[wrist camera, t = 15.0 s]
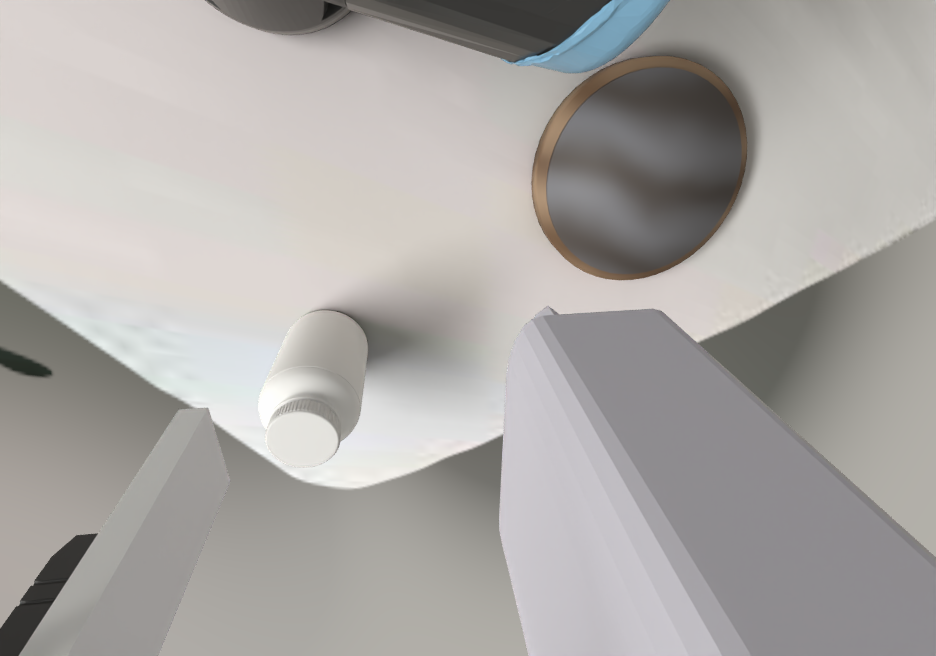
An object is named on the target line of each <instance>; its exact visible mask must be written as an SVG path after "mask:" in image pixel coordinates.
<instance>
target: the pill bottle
mask: <svg viewBox="0 0 936 656" xmlns="http://www.w3.org/2000/svg"><path fill="white" fill-rule="evenodd" d="M367 356H368V344H367V339H366V336H365V334H364V332H363V330H362V328H361V327H360V326H359V325H358V324H357V323H356V322H355V321H354V320H353V319H352V318H350V317H348V316H347V315H345V314H342V313H339V312H336V311H330V310H320V311H314V312H311V313H308V314H306V315H304V316H302V317H301V318H299V319H298V320H297V321H296V322H295V323H294V324H293V325H292V327H291V328H290V329H289V331H288V333H287V335H286V337H285V339H284V342H283V344H282V346H281V348H280V350H279V353H278V355H277V357H276V359H275V361H274V364H273V366H272V368H271V370H270V372H269V374H268V377H267V379H266V381H265V383H264V385H263V388H262V390H261V393H260V396H259V401H258V408H259V415H260V418H261V421H262V423H263V425H264V427H265V429H266V432H265V441H266V442H265V443H266V446H267V448H268V450H269V451H270V453H271V454H272V455H273V456H274V457H275V458H276V459H277V460H279V461H280V462H282V463H284V464H287V465H289V466H293V467H300V468H307V467H314V466H317V465H320V464H322V463H324V462H326V461H328V460H329V459H330V458H331V457H333V455H334V454H335V453H336V452H337V450H338V448H339V445H340V442H341V441H342V440H344V439H345V438H346V437H347V436H348V435H349V434H350V433H351V432H352V430H353V429H354V427H355V426H356V424H357V422H358V420H359V416H360V412H361V404H362V396H363V388H364V380H365V372H366V364H367Z"/></svg>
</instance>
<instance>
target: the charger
mask: <svg viewBox="0 0 936 656" xmlns="http://www.w3.org/2000/svg"><path fill="white" fill-rule="evenodd" d="M499 528H500V535H501V540H502V545H503V549H504V553H505V557H506V561H507V566H508V570H509V574H510V578H511V582H512V587H513V591H514V595H515V599H516V603H517V608H518V612H519V616H520V620H521V624H522V628H523V633H524V637H525V641H526V645H527V649H528V654H529V656H936V557H935V556H934V555H933V554H931V553H930V552H929V551H928V550H927V549H926V548H925V547H924V546H923V545H921V544H920V543H919V542H918V541H917V540H916V539H915V538H914V537H913V536H911V535H910V534H909V533H908V532H907V531H906V530H905V529H904V528H902V526H900V525H899V524H898V523H897V522H896V521H895V520H894V519H892V517H890V516H889V515H888V514H887V513H886V512H885V511H884V510H883V509H882V508H880V507H879V506H878V505H877V504H876V503H875V502H874V501H873V500H871V499H870V498H869V497H868V496H867V495H866V494H865V493H864V492H862V491H861V490H860V489H859V488H858V487H857V486H856V485H855V484H854V483H852V482H851V481H850V480H849V479H848V478H847V477H846V476H845V475H844V474H843V473H841V472H840V471H839V470H838V469H837V468H836V467H835V466H834V465H833V464H831V463H830V462H829V461H828V460H827V459H826V458H825V457H824V456H823V455H821V454H820V453H819V452H818V451H817V450H816V449H815V448H814V447H812V446H811V445H810V444H809V443H808V442H807V441H806V440H805V439H803V438H802V437H801V436H800V435H799V434H798V433H797V432H796V431H795V430H793V429H792V428H791V427H790V426H789V425H788V424H787V423H786V422H785V421H784V420H782V419H781V418H780V417H779V416H778V415H777V414H776V413H775V412H774V411H772V410H771V409H770V408H769V407H768V406H767V405H766V404H765V403H764V402H762V401H761V400H760V399H759V398H758V397H757V396H756V395H754V394H753V393H752V392H751V391H750V390H749V389H748V388H747V387H746V386H745V385H743V384H742V383H741V382H740V381H739V380H738V379H737V378H736V377H735V376H733V375H732V374H731V373H730V372H729V371H728V370H727V369H726V368H725V367H723V366H722V365H721V364H720V363H719V362H718V361H716V360H715V358H713V357H712V356H711V355H710V354H709V353H708V352H707V351H705V349H703V348H702V347H701V346H700V345H699V344H698V343H697V342H696V341H694V340H693V339H692V338H691V337H690V336H689V335H688V334H687V333H686V332H684V331H683V330H682V329H681V328H680V327H679V326H678V325H677V324H676V323H674V322H673V321H672V320H671V319H670V318H669V317H668V316H667V315H666V314H664V313H663V312H662V311H659V310H655V309H642V310H626V311H609V312H593V313H577V314H561V315H559V314H558V313H557V312H555V311H554V310H553V309H551V308H550V307H549V306H547V307H545V308H544V309H543V310H542V311H540V312H539V313H538V314H536V315H535V317H534V319H532V320H531V321H529V322H528V323H527V324H525V325H524V327H523V328H522V329H521V331H520V333H519V335H518V336H517V338H516V340H515V341H514V344H513V347H512V350H511V353H510V356H509V360H508V367H507V374H506V394H505V414H504V434H503V454H502V475H501V495H500V515H499Z"/></svg>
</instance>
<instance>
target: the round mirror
mask: <svg viewBox="0 0 936 656" xmlns="http://www.w3.org/2000/svg"><path fill="white" fill-rule="evenodd" d="M746 158H747V137H746V128H745V124H744V120H743V116H742V113H741V110H740V108H739V105H738V103H737V101H736V99H735V97H734V96H733V94H732V92H731V91H730V89H729V88H728V87H727V86H726V85H725V83H724V82H723V81H722V80H721V79H720V78H719V77H718V76H716V75H715V74H714V73H713V72H712V71H710V70H709V69H707V68H705V67H703V66H702V65H700V64H698V63H695V62H692V61H690V60H687V59H683V58H678V57H672V56H650V57H641V58H633V59H628V60H625V61H621V62H618V63H615V64H613V65H611V66H608V67H606V68H604V69H602V70H600V71H598V72H597V73H595V74H593V75H592V76H590V77H589V78H587V79H586V80H585V81H584V82H582V83H581V84H580V85H578V86H577V87H576V88H575V89H574V90H573V91H572V92H571V93H570V94H569V95H568V96H567V97H566V98H565V99H564V101H563V102H562V103H561V104H560V106H559V107H558V108H557V110H556V111H555V112H554V114H553V116H552V117H551V119H550V121H549V122H548V124H547V126H546V128H545V130H544V132H543V134H542V137H541V139H540V141H539V145H538V148H537V151H536V154H535V159H534V164H533V170H532V198H533V204H534V209H535V212H536V215H537V218H538V222H539V224H540V226H541V228H542V230H543V232H544V234H545V235H546V237H547V238H548V240H549V241H550V242H551V244H552V245H553V246H554V247H555V248H556V249H557V250H558V251H559V253H560V254H561V255H562V256H563V257H564V258H565V259H566V260H568V261H569V262H570V263H571V264H573V265H574V266H575V267H577V268H579V269H580V270H582V271H584V272H586V273H589V274H591V275H594V276H597V277H601V278H605V279H612V280H633V279H640V278H645V277H649V276H652V275H656V274H658V273H661V272H663V271H666V270H668V269H670V268H672V267H674V266H676V265H677V264H679V263H681V262H682V261H684V260H685V259H687V258H688V257H690V256H691V255H692V254H694V253H695V252H696V251H697V250H698V249H700V248H701V247H702V246H703V245H704V244H705V243H706V242H707V241H708V240H709V239H710V238H711V237H712V236H713V234H714V233H715V232H716V231H717V229H718V228H719V227H720V225H721V224H722V223H723V221H724V219H725V218H726V216H727V215H728V213H729V211H730V209H731V207H732V206H733V204H734V202H735V200H736V197H737V194H738V192H739V189H740V187H741V183H742V179H743V176H744V172H745V165H746Z"/></svg>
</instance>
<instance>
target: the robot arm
mask: <svg viewBox="0 0 936 656" xmlns="http://www.w3.org/2000/svg"><path fill="white" fill-rule="evenodd" d="M205 1H206V2H208V3H209V4H210V5H211V6H213V7H214V8H215V9H217V10H218V11H220V12H221V13H223V14H225V15H226V16H228V17H230V18H232V19H233V20H235V21H238V22H240V23H242V24H244V25H247V26H249V27H252V28H255V29H258V30H262V31H265V32H269V33H274V34H281V35H300V34H307V33H312V32H315V31H319V30H321V29H324V28H326V27H328V26H330V25H332V24H334V23H336V22H337V21H339V20H340V19H342V18H343V17H344V16H346V15H347V14H348V13H349V12H350V11H355V12H358V13H361V14H364V15H367V16H370V17H373V18H376V19H380V20H383V21H386V22H389V23H392V24H395V25H398V26H402V27H405V28H408V29H411V30H414V31H417V32H420V33H423V34H427V35H430V36H433V37H436V38H439V39H442V40H445V41H448V42H452V43H455V44H458V45H461V46H464V47H467V48H470V49H474V50H477V51H480V52H483V53H486V54H489V55H492V56H495V57H499V58H501V59H502V60H503V61H505V62H507V63H509V64H516V65H518V66H530V65H533V66H538V67H542V68H546V69H551V70H555V71H559V72H563V73H582V72H586V71H590V70H593V69H595V68H598V67H600V66H602V65H604V64H606V63H607V62H609V61H611V60H612V59H614V58H615V57H616V56H618V55H619V54H620V53H622V52H623V51H624V50H625V49H627V48H628V47H629V46H630V45H631V44H632V43H633V42H634V41H635V40H636V39H637V38H638V37H639V36H640V35H641V34H642V33H643V32H644V31H645V30H646V29H647V28H648V27H649V26H650V24H651V23H652V22H653V21H654V20H655V19H656V17H657V16H658V15H659V14H660V13H661V11H662V10H663V9H664V7H665V6H666V5H667V3H668V2H669V1H670V0H205ZM229 483H230V478H229V475H228V472H227V469H226V465H225V462H224V458H223V455H222V452H221V449H220V445H219V442H218V439H217V435H216V433H215V429H214V425H213V422H212V419H211V415H210V412H209V409H208V408H195V409H180V410H178V412H177V413H176V415H175V416H174V418H173V419H172V421H171V422H170V424H169V426H168V427H167V429H166V430H165V432H164V433H163V435H162V436H161V438H160V439H159V441H158V442H157V444H156V445H155V447H154V448H153V450H152V452H151V453H150V455H149V456H148V458H147V459H146V461H145V462H144V464H143V465H142V467H141V469H140V470H139V472H138V473H137V475H136V476H135V478H134V479H133V481H132V482H131V484H130V485H129V487H128V488H127V490H126V492H125V493H124V495H123V496H122V498H121V499H120V501H119V502H118V504H117V506H116V507H115V508H114V510H113V512H112V513H111V515H110V516H109V518H108V519H107V521H106V522H105V524H104V526H103V527H102V529H101V530H100V531H99V533H98V534H88V535H77V536H75V537H74V538H73V539H72V540H71V541H70V542H68V543H67V544H66V545H65V546H64V547H62V548H61V549H60V550H59V551H58V552H57V553H56V554H54V555H53V556H52V557H51V558H50V560H49V561H48V563H47V564H46V565H45V567H44V569H43V570H42V571H41V572H40V574H39V575H38V577H37V578H36V579H35V581H34V582H35V583H34V585H33V586H30V588H29V589H28V591H27V592H26V593H25V595H24V596H23V598H22V599H21V601H20V605H19V606H17V607H15V609H14V610H13V612H12V613H11V615H10V616H9V617H8V619H7V620H6V621H5V623H4V624H3V626H2V627H1V628H0V656H158V655H159V652H160V650H161V648H162V645H163V643H164V640H165V638H166V636H167V633H168V631H169V628H170V626H171V624H172V621H173V619H174V616H175V614H176V611H177V609H178V607H179V604H180V602H181V599H182V597H183V595H184V592H185V590H186V587H187V585H188V582H189V580H190V578H191V575H192V573H193V570H194V567H195V565H196V563H197V561H198V558H199V556H200V553H201V551H202V549H203V546H204V544H205V541H206V539H207V536H208V534H209V532H210V529H211V527H212V524H213V522H214V519H215V517H216V515H217V512H218V510H219V507H220V505H221V503H222V500H223V498H224V495H225V493H226V491H227V488H228V486H229Z"/></svg>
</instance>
